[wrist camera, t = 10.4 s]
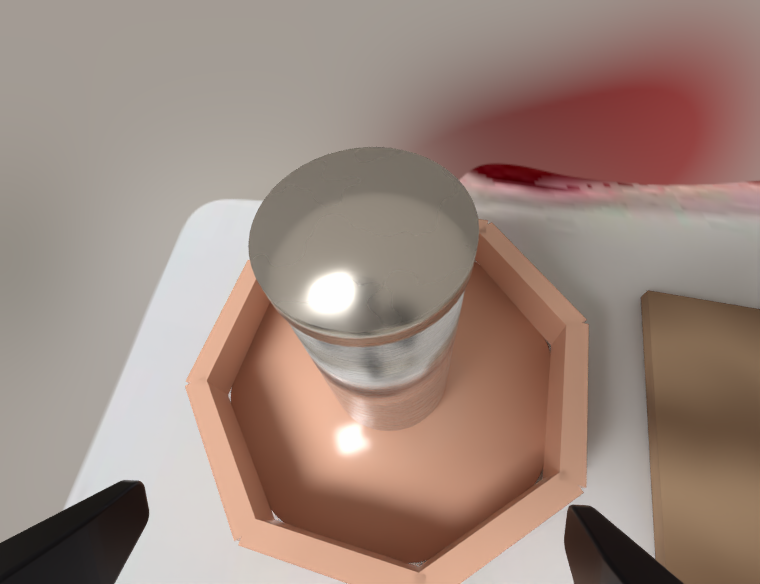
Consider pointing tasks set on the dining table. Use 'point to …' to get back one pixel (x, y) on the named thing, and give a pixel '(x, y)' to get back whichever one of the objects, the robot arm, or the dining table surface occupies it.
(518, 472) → the terracotta bowl
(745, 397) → the walnut board
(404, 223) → the polished metal canister
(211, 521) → the dining table surface
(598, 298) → the dining table surface
